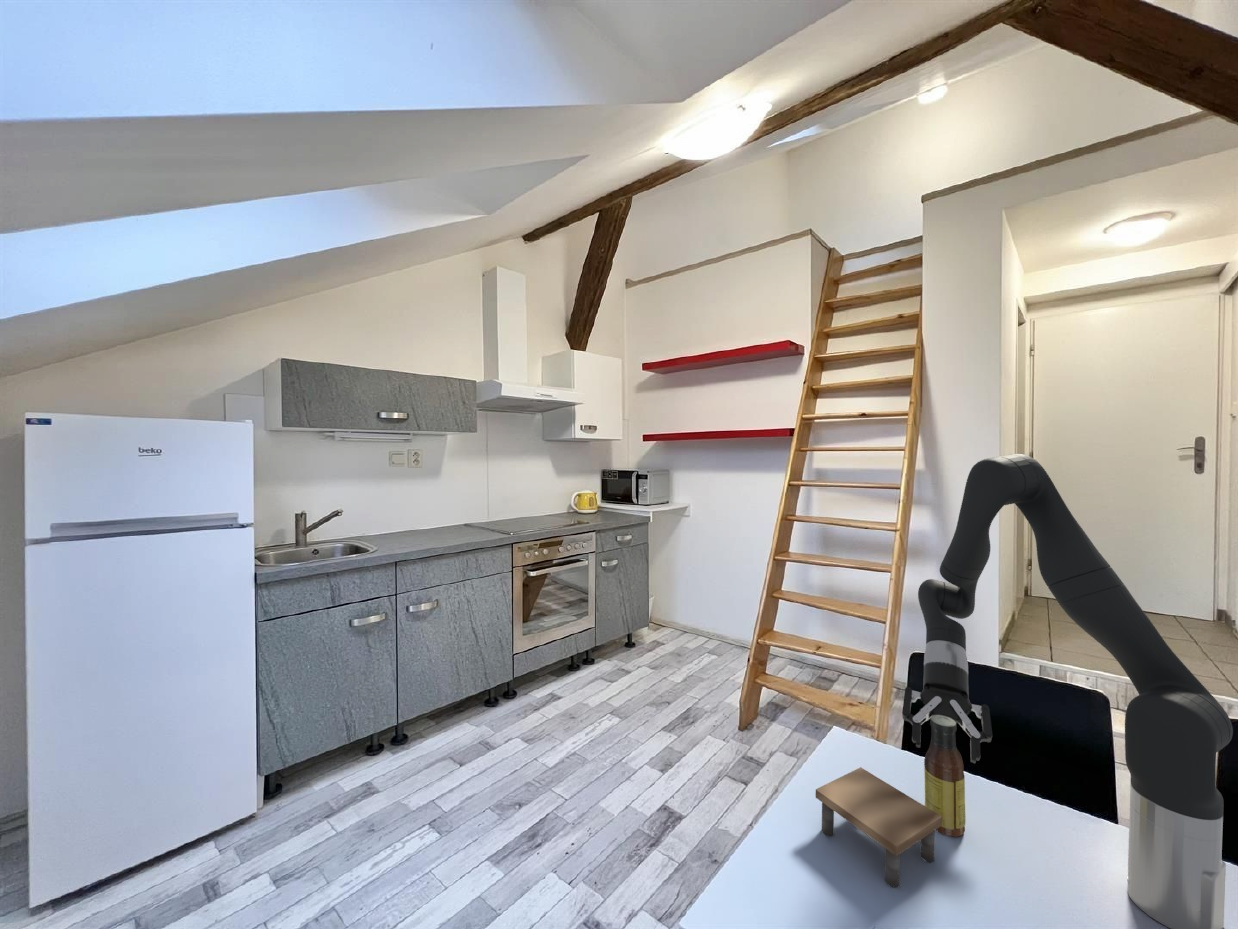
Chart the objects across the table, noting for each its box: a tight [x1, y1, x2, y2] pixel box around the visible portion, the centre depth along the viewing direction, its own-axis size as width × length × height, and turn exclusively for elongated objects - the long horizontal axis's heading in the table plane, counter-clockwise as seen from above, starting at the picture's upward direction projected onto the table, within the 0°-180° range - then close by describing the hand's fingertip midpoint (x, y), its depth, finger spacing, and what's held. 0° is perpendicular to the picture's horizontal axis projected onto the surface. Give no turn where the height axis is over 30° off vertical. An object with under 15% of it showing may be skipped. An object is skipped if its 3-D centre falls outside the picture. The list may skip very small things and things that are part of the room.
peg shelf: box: [815, 766, 942, 889], centre depth 87 cm, size 15×13×8 cm
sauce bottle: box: [923, 715, 966, 838], centre depth 91 cm, size 7×6×20 cm
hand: (945, 753), depth 91 cm, fingers open, 8 cm apart
